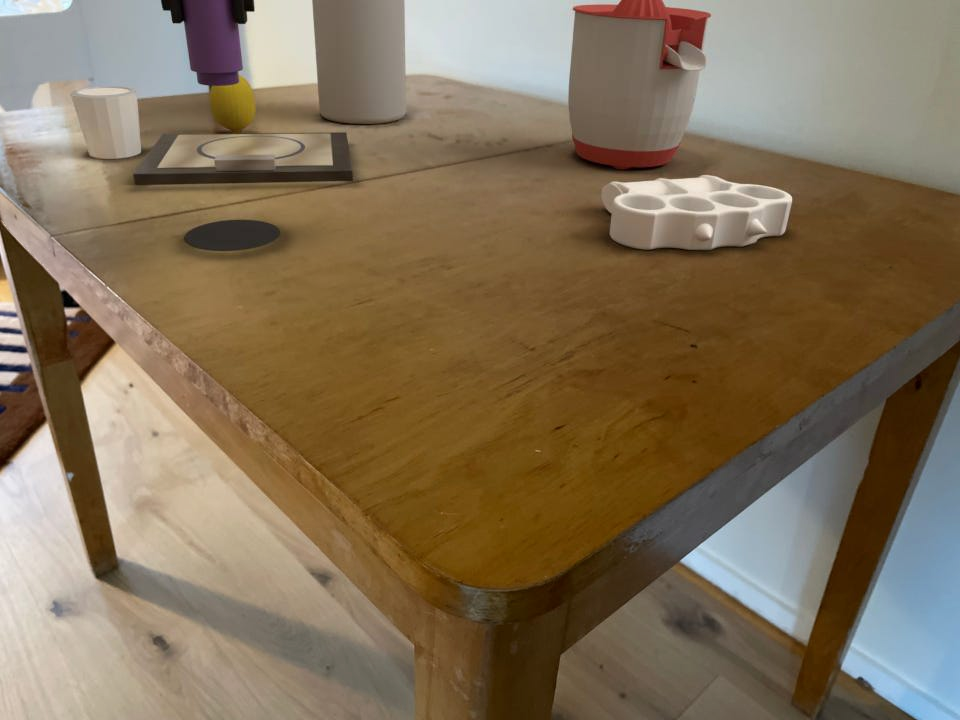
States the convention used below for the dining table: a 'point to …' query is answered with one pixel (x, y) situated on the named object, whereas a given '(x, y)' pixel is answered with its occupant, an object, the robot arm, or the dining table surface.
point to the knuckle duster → (694, 213)
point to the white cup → (109, 121)
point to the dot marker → (212, 41)
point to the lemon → (233, 105)
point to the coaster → (232, 235)
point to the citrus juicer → (633, 80)
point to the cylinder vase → (360, 60)
